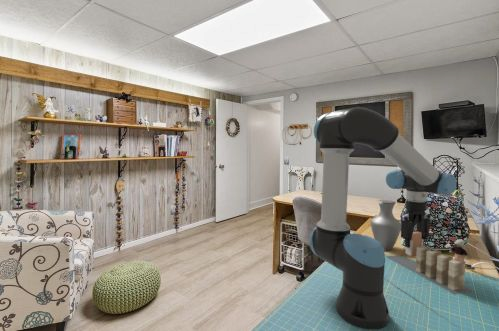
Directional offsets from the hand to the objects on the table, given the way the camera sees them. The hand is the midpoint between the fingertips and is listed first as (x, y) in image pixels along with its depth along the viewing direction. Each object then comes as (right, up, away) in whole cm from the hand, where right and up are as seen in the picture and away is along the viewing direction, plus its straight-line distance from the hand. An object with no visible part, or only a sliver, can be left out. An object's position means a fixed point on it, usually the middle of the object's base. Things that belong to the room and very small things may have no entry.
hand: (414, 253), depth 110 cm
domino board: (+1, -7, -5) cm, 8 cm away
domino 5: (+4, -7, -17) cm, 19 cm away
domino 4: (+3, -6, -13) cm, 15 cm away
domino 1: (0, -1, 0) cm, 1 cm away
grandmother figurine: (+20, -7, +1) cm, 21 cm away
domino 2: (+1, -6, -4) cm, 7 cm away
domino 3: (+2, -6, -8) cm, 11 cm away
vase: (-1, -5, +23) cm, 24 cm away
